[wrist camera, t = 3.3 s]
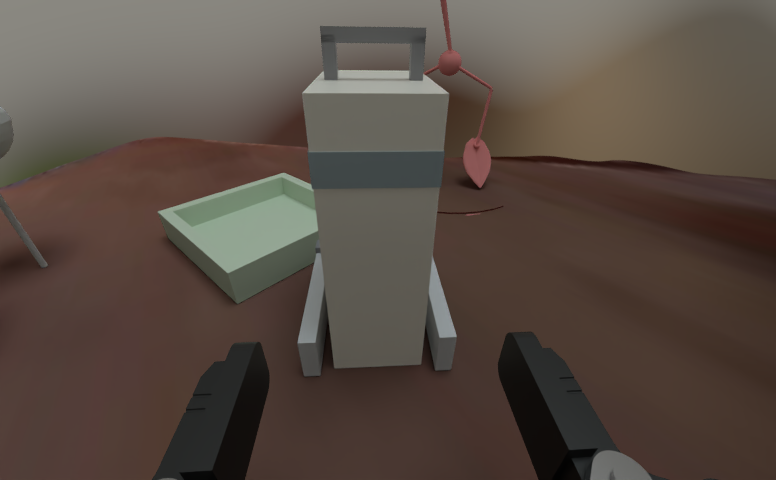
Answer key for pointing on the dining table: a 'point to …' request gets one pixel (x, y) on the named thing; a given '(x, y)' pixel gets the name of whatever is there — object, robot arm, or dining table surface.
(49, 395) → the dining table surface
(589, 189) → the dining table surface
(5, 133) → the lollipop
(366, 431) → the dining table surface
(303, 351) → the bay
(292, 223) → the tray
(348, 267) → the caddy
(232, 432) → the robot arm
